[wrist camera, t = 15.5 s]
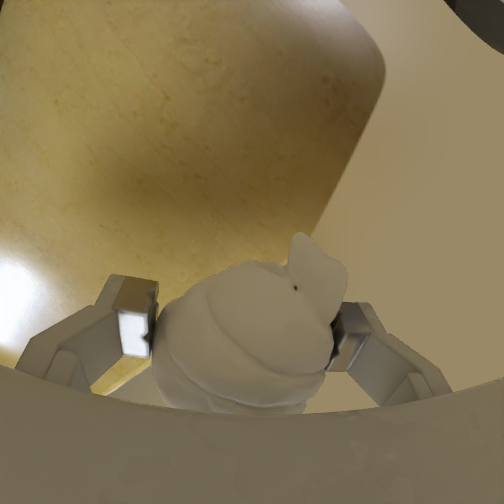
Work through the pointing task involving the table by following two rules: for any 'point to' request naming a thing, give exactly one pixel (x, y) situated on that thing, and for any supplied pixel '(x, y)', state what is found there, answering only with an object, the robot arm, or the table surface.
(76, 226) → the table surface
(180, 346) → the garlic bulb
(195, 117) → the table surface
